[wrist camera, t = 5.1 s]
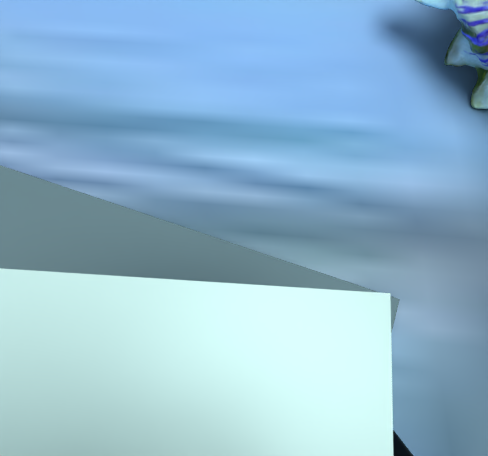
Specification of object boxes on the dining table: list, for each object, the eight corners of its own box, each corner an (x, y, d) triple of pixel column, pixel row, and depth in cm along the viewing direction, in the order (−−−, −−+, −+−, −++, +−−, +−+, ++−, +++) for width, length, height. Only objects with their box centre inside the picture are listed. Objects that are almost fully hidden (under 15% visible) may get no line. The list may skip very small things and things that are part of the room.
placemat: (-265, 471, 17) (-274, 473, 17) (-82, 139, 21) (-86, 136, 20) (303, 677, 17) (305, 684, 16) (396, 300, 20) (399, 299, 20)
